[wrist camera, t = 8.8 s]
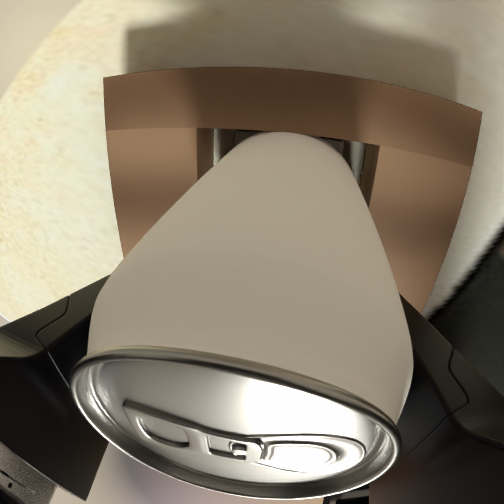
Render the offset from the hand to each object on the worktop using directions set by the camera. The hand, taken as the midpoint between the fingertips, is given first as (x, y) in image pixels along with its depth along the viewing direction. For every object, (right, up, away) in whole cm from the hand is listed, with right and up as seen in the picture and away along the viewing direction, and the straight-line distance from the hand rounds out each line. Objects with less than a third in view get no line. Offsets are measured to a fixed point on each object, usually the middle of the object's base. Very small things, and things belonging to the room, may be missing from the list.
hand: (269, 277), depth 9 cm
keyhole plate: (+1, -1, +9) cm, 9 cm away
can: (+1, +4, +6) cm, 7 cm away
